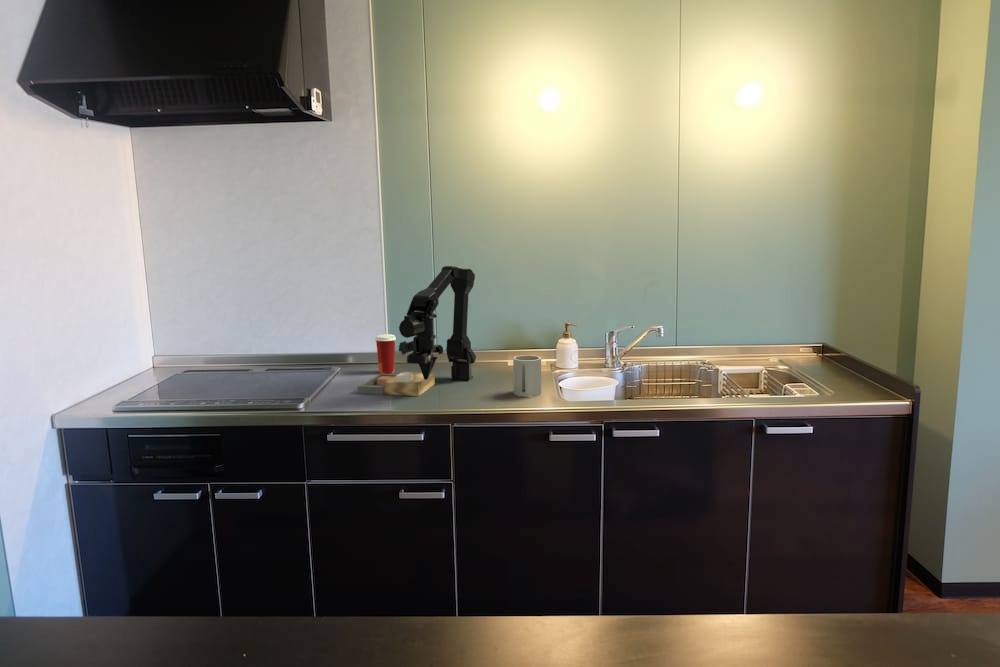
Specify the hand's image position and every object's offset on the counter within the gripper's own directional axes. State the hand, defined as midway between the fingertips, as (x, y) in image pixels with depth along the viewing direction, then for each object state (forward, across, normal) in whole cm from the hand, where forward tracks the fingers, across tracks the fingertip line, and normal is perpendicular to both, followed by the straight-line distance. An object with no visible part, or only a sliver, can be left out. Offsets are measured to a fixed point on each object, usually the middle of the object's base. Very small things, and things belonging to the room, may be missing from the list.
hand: (426, 379), depth 227 cm
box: (+5, -4, -18) cm, 19 cm away
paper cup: (+5, -26, -26) cm, 37 cm away
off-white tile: (+1, 0, -8) cm, 8 cm away
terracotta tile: (+2, -9, -18) cm, 20 cm away
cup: (+5, -8, +32) cm, 34 cm away
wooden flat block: (+5, -4, -8) cm, 10 cm away
